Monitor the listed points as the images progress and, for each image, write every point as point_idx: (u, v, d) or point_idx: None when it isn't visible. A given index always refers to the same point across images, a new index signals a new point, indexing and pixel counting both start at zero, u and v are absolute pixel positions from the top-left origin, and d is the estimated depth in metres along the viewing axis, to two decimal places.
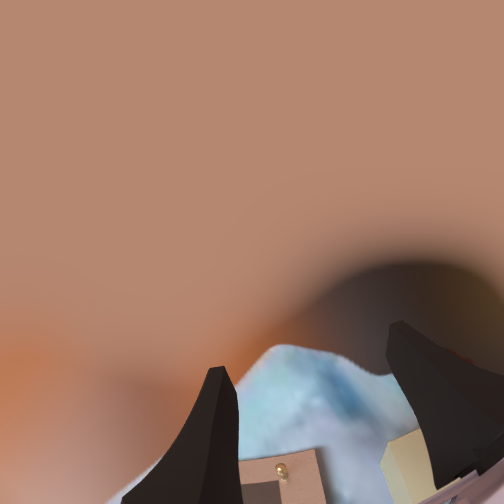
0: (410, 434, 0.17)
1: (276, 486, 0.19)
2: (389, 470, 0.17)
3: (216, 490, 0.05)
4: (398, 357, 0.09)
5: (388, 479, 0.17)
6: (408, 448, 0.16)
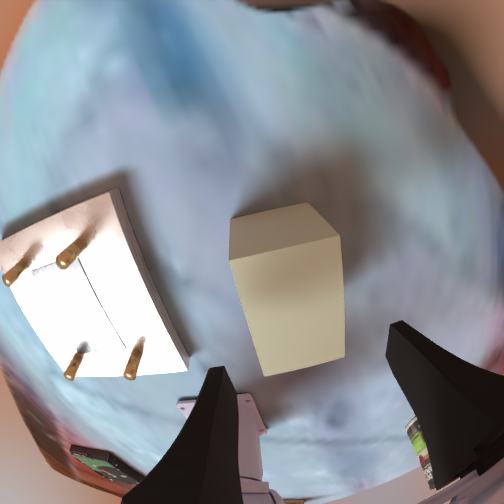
0: (281, 253, 0.12)
1: (78, 266, 0.16)
2: None
3: (216, 490, 0.05)
4: (398, 357, 0.09)
5: None
6: (269, 284, 0.12)
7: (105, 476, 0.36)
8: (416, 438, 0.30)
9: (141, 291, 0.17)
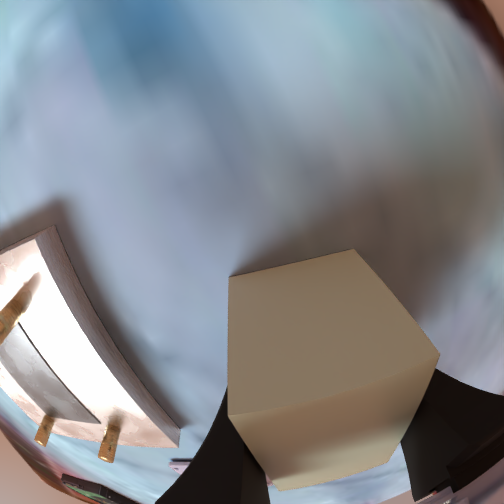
0: (333, 399, 0.05)
1: (21, 333, 0.09)
2: None
3: (251, 488, 0.05)
4: None
5: None
6: (303, 433, 0.06)
7: (101, 502, 0.29)
8: None
9: (104, 373, 0.11)
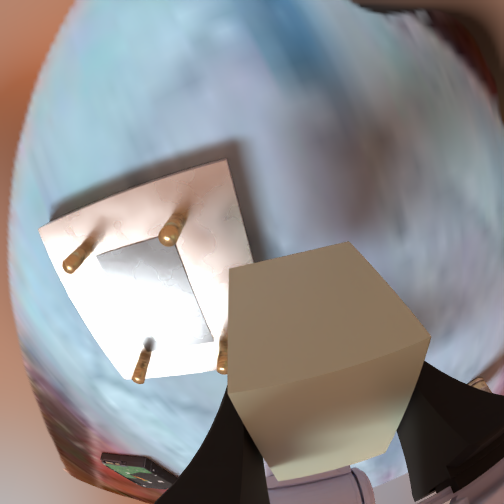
0: (328, 378, 0.06)
1: (170, 246, 0.16)
2: None
3: (251, 488, 0.05)
4: None
5: None
6: (300, 415, 0.06)
7: (138, 483, 0.36)
8: None
9: None
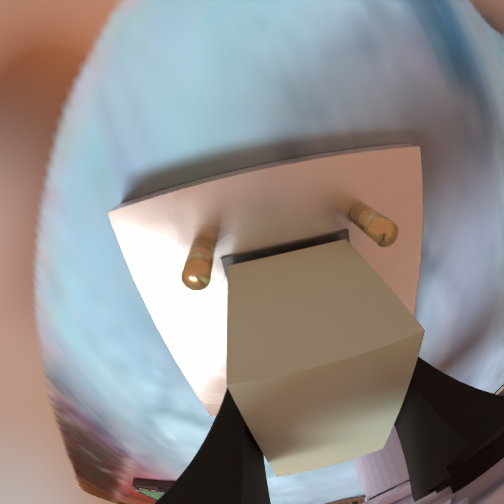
0: (324, 369, 0.06)
1: None
2: None
3: (251, 488, 0.05)
4: None
5: None
6: (297, 407, 0.06)
7: None
8: None
9: (412, 278, 0.13)
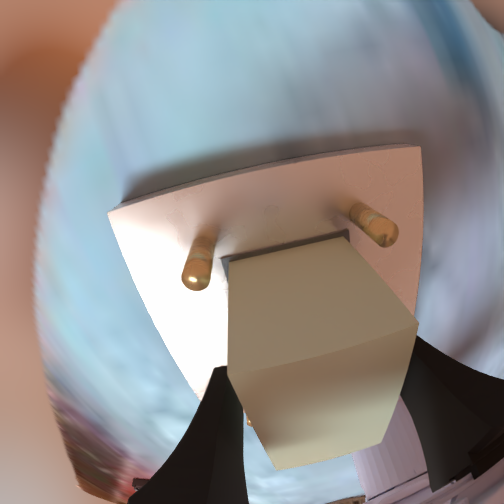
0: (321, 360, 0.06)
1: None
2: None
3: (223, 490, 0.05)
4: None
5: None
6: (296, 398, 0.07)
7: None
8: None
9: (413, 278, 0.13)
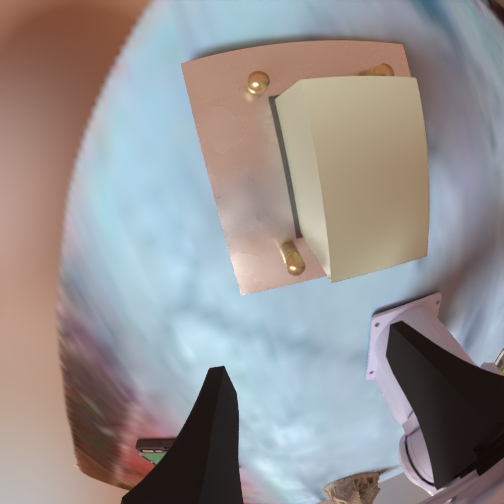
0: (360, 80, 0.08)
1: None
2: (293, 134, 0.11)
3: (216, 490, 0.05)
4: (398, 357, 0.09)
5: (289, 146, 0.13)
6: (349, 118, 0.08)
7: None
8: None
9: None
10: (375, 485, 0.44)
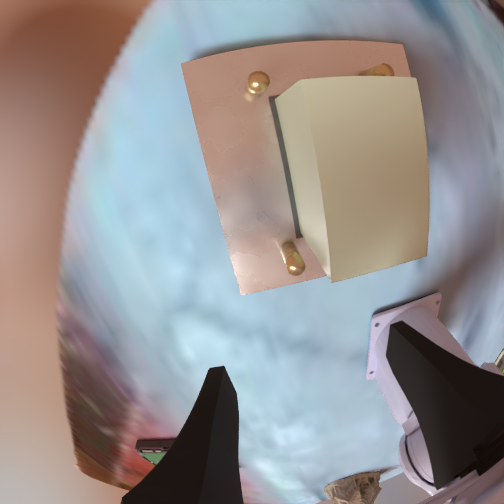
0: (360, 80, 0.08)
1: None
2: (293, 134, 0.11)
3: (216, 490, 0.05)
4: (398, 357, 0.09)
5: (289, 146, 0.13)
6: (349, 118, 0.08)
7: None
8: None
9: None
10: (376, 485, 0.44)
